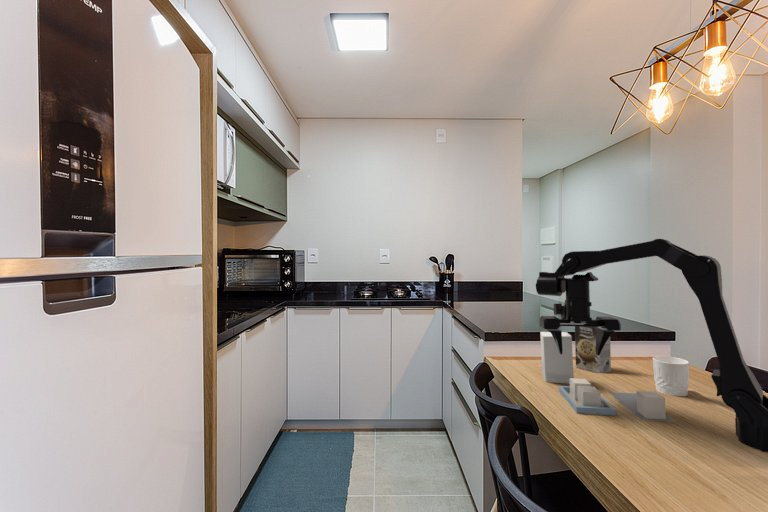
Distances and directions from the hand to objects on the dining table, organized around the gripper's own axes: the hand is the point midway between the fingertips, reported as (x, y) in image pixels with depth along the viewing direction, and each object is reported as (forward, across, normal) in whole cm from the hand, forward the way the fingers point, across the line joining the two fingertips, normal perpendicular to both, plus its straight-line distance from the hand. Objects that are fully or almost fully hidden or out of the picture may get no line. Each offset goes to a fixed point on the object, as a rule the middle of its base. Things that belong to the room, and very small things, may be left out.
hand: (579, 354), depth 94 cm
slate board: (+13, -13, +4) cm, 18 cm away
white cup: (+13, -26, -8) cm, 30 cm away
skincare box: (+13, +2, -14) cm, 19 cm away
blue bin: (+13, 0, +3) cm, 13 cm away
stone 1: (+12, 0, 0) cm, 12 cm away
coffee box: (+13, -14, -30) cm, 36 cm away
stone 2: (+12, 0, +6) cm, 14 cm away
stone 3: (+12, -13, +9) cm, 19 cm away
